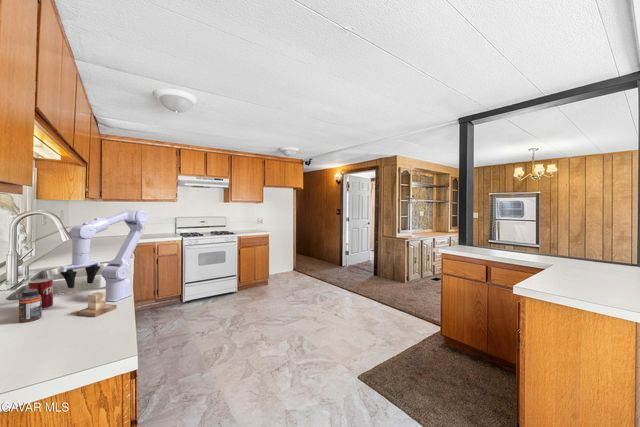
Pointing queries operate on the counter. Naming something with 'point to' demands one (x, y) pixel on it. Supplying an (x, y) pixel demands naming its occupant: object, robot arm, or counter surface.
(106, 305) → the base
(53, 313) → the counter surface
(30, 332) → the counter surface
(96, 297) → the beech block
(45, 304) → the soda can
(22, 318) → the supplement bottle
